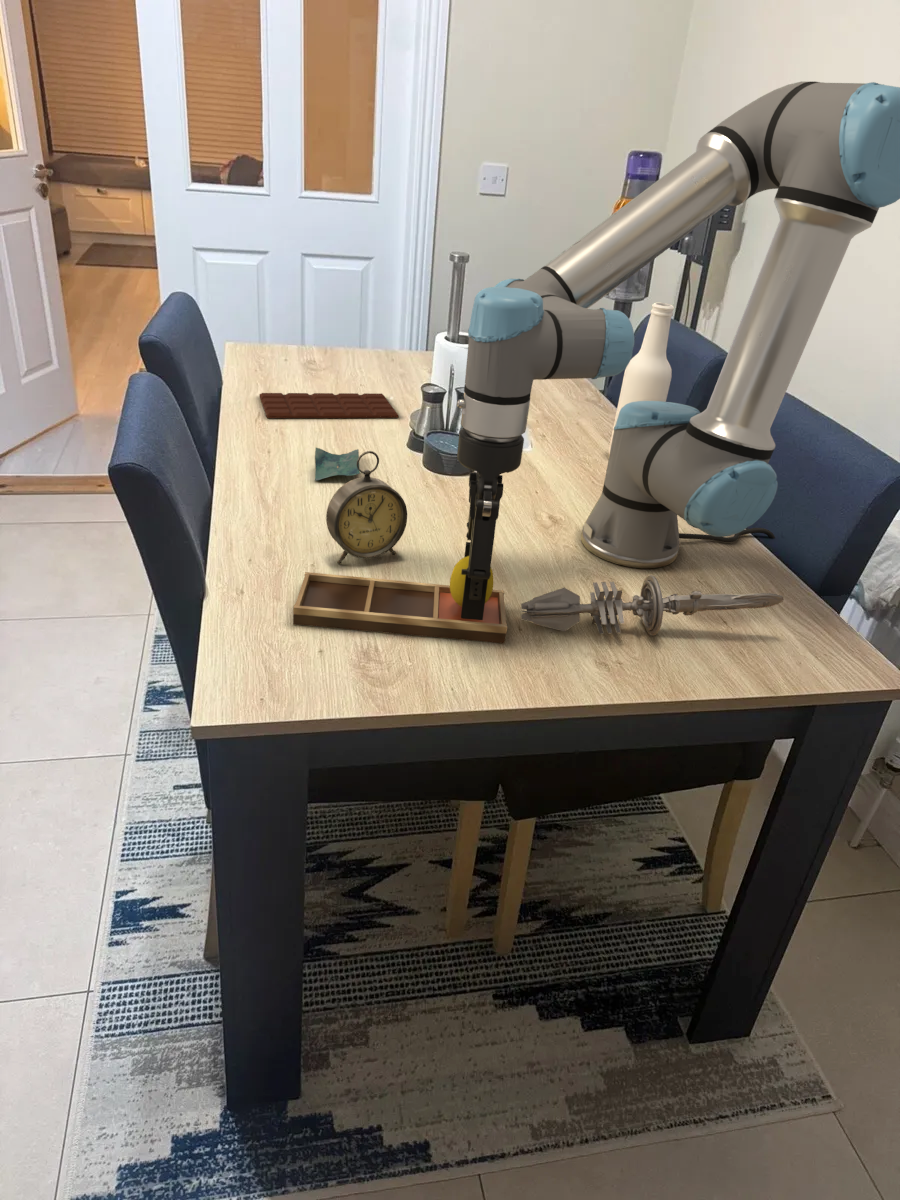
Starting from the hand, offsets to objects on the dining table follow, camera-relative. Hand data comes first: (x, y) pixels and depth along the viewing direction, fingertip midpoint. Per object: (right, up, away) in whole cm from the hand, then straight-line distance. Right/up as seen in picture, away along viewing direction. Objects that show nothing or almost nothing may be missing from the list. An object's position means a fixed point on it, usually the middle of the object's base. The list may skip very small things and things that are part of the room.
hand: (471, 602), depth 109 cm
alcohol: (+33, +28, +61) cm, 75 cm away
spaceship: (+23, -4, +4) cm, 24 cm away
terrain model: (-23, +23, +41) cm, 53 cm away
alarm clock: (-15, +6, +14) cm, 22 cm away
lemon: (0, -1, +1) cm, 1 cm away
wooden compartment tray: (-9, -2, +1) cm, 9 cm away
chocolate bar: (-28, +41, +69) cm, 85 cm away
